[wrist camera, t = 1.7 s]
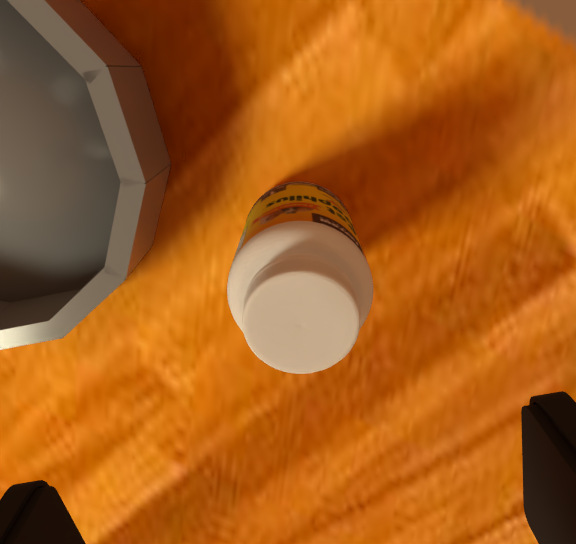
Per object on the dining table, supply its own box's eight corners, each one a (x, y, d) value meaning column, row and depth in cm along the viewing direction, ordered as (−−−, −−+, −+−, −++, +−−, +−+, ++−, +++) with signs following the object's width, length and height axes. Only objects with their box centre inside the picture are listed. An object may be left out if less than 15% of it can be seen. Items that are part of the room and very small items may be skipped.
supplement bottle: (364, 193, 24) (410, 271, 15) (333, 288, 26) (356, 409, 17) (258, 165, 24) (237, 227, 14) (235, 265, 26) (202, 376, 17)
